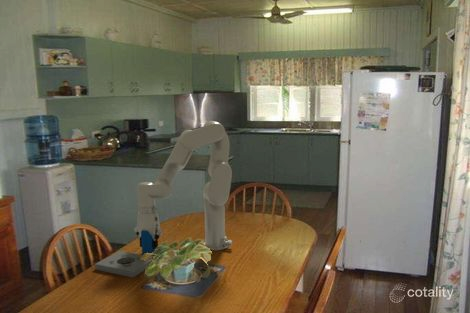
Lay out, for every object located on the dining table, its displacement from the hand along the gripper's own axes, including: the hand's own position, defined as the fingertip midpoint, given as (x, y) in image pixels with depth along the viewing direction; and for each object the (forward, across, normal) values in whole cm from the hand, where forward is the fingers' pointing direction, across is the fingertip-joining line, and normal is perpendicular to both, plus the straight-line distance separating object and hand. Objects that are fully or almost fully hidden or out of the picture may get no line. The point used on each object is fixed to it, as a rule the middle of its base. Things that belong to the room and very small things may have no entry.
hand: (148, 246), depth 195 cm
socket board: (+3, 0, +16) cm, 16 cm away
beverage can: (+3, 0, 0) cm, 3 cm away
